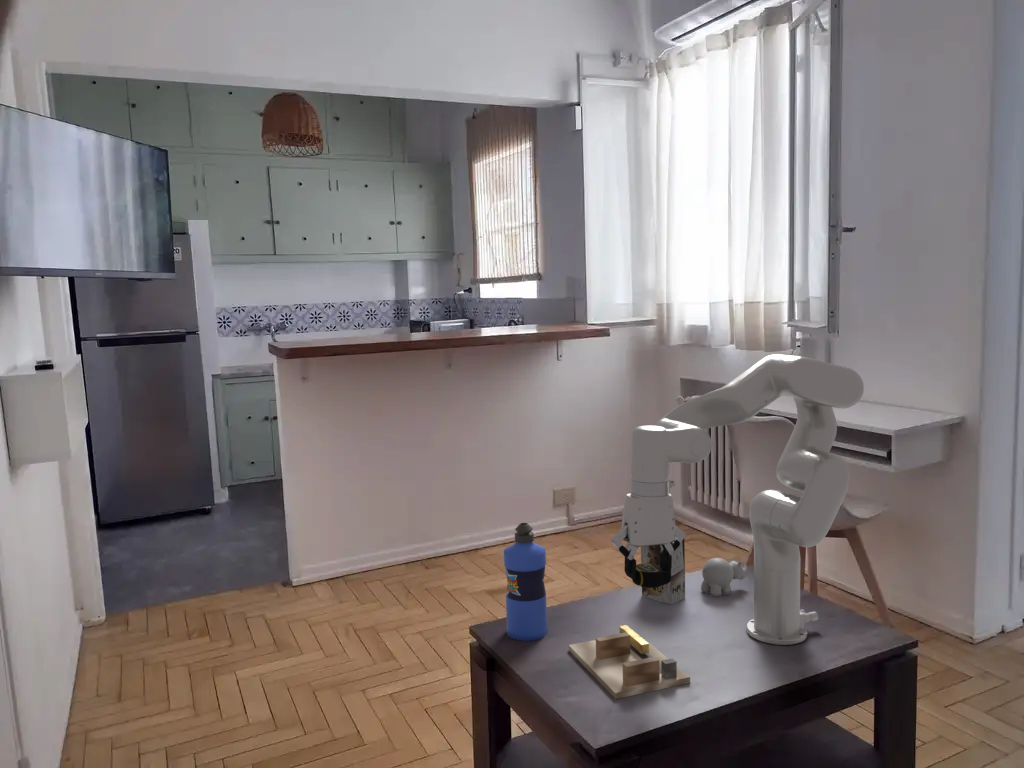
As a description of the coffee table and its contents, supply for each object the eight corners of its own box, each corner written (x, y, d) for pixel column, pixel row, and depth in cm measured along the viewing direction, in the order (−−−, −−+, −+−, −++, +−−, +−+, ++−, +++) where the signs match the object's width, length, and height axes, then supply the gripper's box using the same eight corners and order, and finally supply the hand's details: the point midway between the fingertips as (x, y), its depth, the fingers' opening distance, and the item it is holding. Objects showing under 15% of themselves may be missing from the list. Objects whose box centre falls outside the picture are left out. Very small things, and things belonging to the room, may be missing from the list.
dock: (636, 637, 175) (635, 614, 174) (690, 682, 154) (690, 657, 153) (568, 650, 170) (568, 626, 169) (615, 699, 149) (614, 672, 148)
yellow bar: (626, 633, 173) (626, 624, 172) (648, 652, 163) (648, 643, 163) (619, 634, 172) (619, 626, 172) (641, 654, 163) (641, 644, 162)
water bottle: (535, 620, 185) (532, 515, 183) (555, 635, 177) (552, 525, 174) (499, 629, 181) (495, 522, 178) (518, 644, 173) (514, 532, 170)
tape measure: (672, 587, 159) (673, 569, 158) (644, 593, 156) (644, 575, 156) (652, 577, 165) (652, 559, 165) (624, 582, 162) (624, 564, 162)
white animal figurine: (756, 592, 198) (756, 557, 197) (713, 600, 194) (713, 565, 193) (737, 582, 205) (737, 549, 204) (696, 590, 201) (695, 556, 200)
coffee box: (686, 597, 196) (686, 533, 194) (671, 605, 192) (671, 540, 190) (655, 588, 203) (654, 526, 201) (640, 596, 198) (639, 533, 196)
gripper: (678, 481, 165) (676, 564, 167) (601, 487, 160) (600, 573, 161) (698, 489, 158) (695, 576, 160) (618, 495, 152) (616, 586, 154)
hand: (648, 574), depth 160 cm, fingers closed on tape measure, 7 cm apart
